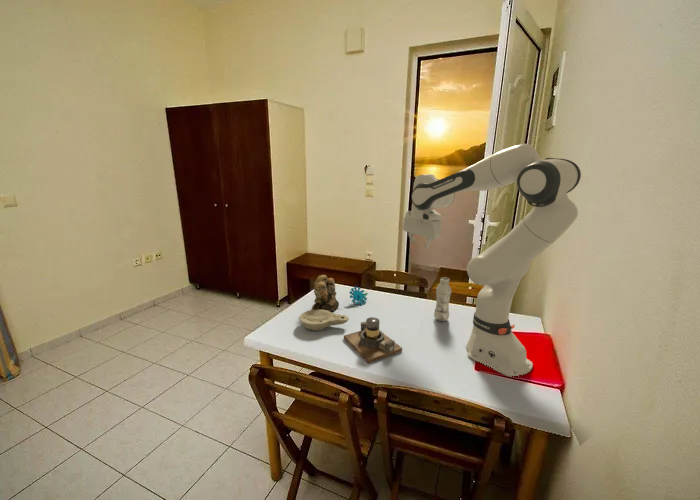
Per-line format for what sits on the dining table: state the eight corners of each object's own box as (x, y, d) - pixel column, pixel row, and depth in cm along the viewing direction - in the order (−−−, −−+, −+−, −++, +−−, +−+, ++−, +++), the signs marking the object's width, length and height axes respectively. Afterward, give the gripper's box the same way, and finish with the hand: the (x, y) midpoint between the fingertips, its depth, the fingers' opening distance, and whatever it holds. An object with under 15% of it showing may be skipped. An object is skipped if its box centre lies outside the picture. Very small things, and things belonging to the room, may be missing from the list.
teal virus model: (354, 305, 149) (348, 286, 153) (348, 309, 153) (342, 291, 157) (372, 302, 155) (365, 285, 160) (365, 307, 159) (359, 290, 164)
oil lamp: (348, 318, 139) (349, 308, 137) (348, 335, 125) (348, 324, 124) (303, 317, 139) (302, 307, 138) (297, 334, 125) (296, 323, 124)
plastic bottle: (451, 321, 137) (456, 280, 132) (439, 324, 135) (443, 281, 130) (442, 315, 143) (446, 275, 138) (430, 317, 140) (434, 277, 135)
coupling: (381, 343, 117) (382, 321, 115) (370, 346, 115) (370, 324, 112) (374, 336, 121) (374, 316, 119) (363, 339, 119) (363, 319, 117)
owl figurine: (329, 318, 139) (328, 283, 135) (305, 314, 143) (304, 279, 139) (343, 302, 156) (343, 270, 151) (322, 299, 159) (321, 268, 155)
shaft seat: (402, 352, 114) (403, 339, 113) (369, 363, 107) (369, 351, 106) (374, 329, 130) (374, 318, 129) (343, 338, 123) (343, 326, 121)
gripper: (400, 210, 137) (398, 240, 141) (433, 217, 120) (430, 251, 124) (411, 209, 140) (409, 239, 144) (445, 216, 123) (441, 249, 127)
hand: (419, 244), depth 134 cm, fingers open, 8 cm apart
